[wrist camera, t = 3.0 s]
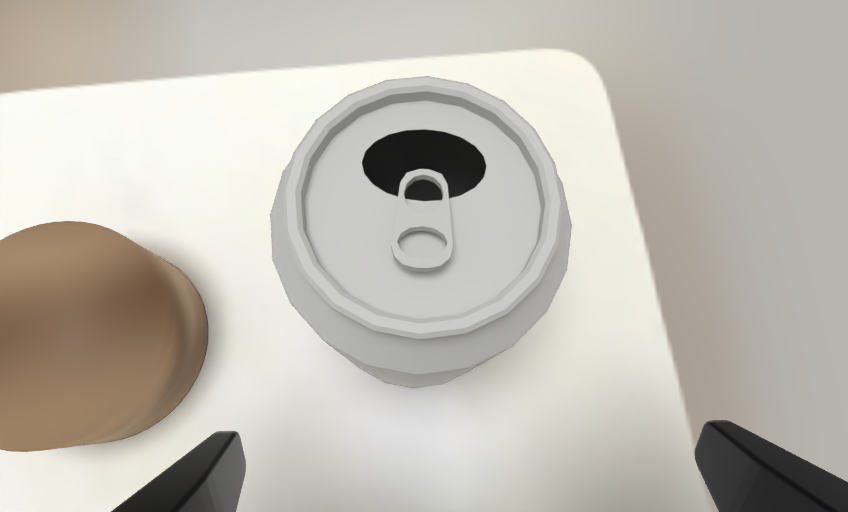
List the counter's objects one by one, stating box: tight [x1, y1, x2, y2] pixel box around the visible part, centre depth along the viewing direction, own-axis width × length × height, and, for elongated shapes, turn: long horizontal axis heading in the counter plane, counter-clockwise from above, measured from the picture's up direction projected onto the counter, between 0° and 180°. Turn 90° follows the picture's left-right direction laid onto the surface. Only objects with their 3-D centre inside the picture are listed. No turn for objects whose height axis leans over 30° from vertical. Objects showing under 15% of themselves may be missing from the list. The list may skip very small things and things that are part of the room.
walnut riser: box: [0, 221, 208, 452], centre depth 20 cm, size 8×8×4 cm
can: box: [270, 76, 572, 388], centre depth 17 cm, size 8×8×12 cm
